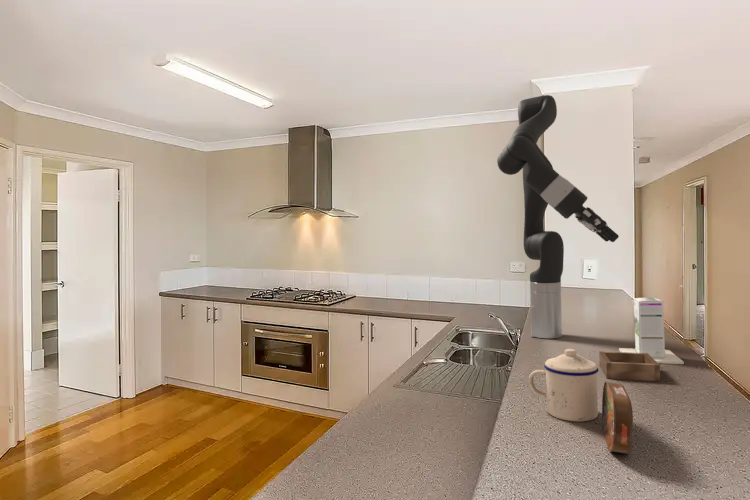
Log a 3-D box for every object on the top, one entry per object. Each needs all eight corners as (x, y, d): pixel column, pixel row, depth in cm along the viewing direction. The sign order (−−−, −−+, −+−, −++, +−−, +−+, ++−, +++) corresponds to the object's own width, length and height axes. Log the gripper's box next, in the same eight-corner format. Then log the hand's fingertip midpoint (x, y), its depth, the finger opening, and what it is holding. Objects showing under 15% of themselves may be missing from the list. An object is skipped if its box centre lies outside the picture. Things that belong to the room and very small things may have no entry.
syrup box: (665, 358, 117) (664, 300, 116) (639, 357, 118) (638, 300, 118) (659, 352, 122) (658, 297, 122) (633, 351, 124) (632, 297, 124)
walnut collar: (606, 378, 105) (606, 362, 105) (599, 365, 115) (599, 351, 115) (660, 381, 101) (659, 365, 101) (647, 367, 111) (647, 353, 111)
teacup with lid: (600, 408, 87) (599, 346, 87) (597, 426, 79) (596, 358, 79) (533, 399, 93) (532, 341, 93) (524, 415, 85) (523, 351, 85)
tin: (600, 422, 81) (599, 374, 81) (621, 424, 80) (620, 375, 80) (611, 462, 67) (610, 404, 67) (636, 465, 66) (635, 406, 66)
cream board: (628, 361, 117) (628, 359, 117) (619, 350, 128) (619, 348, 128) (683, 364, 113) (683, 361, 113) (669, 352, 125) (669, 349, 125)
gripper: (577, 183, 114) (630, 228, 111) (571, 188, 128) (618, 228, 125) (554, 206, 116) (606, 251, 113) (551, 208, 130) (597, 249, 126)
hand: (612, 239), depth 119 cm, fingers open, 8 cm apart
